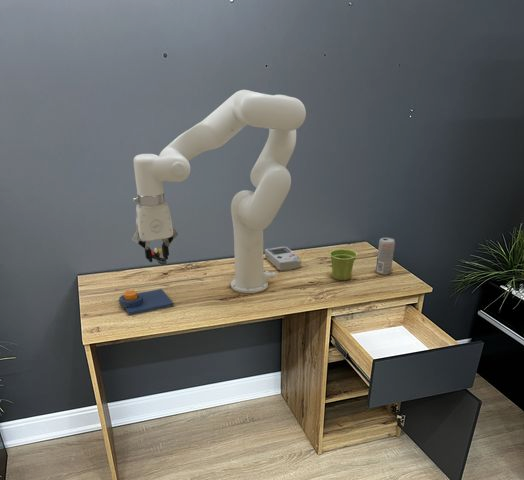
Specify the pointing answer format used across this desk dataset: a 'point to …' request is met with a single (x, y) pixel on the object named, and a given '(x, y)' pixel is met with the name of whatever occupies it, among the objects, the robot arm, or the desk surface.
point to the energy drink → (385, 256)
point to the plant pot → (342, 263)
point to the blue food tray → (146, 302)
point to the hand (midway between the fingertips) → (157, 258)
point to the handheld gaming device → (283, 258)
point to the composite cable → (158, 256)
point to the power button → (130, 295)
